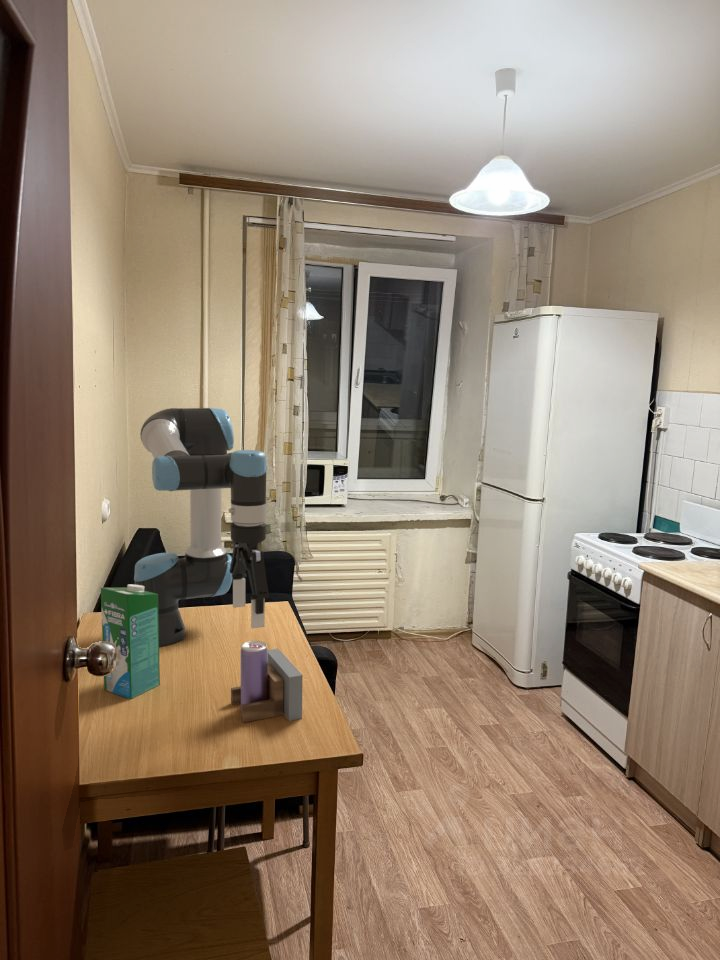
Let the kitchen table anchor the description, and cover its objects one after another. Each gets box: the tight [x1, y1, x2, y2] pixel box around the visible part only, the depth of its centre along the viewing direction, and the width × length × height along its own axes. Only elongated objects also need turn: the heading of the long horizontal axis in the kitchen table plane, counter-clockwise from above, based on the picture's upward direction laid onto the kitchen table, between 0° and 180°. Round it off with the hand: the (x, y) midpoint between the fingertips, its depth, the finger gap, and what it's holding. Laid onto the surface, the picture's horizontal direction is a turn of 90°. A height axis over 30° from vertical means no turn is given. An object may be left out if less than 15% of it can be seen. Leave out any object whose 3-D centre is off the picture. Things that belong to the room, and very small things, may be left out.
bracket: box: [230, 663, 284, 723], centre depth 153 cm, size 10×9×8 cm
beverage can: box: [240, 640, 269, 710], centre depth 152 cm, size 6×6×15 cm
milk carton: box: [100, 584, 161, 700], centre depth 161 cm, size 9×9×25 cm
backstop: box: [268, 648, 303, 722], centre depth 156 cm, size 16×3×10 cm, turn 26°
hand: (248, 616), depth 151 cm, fingers open, 13 cm apart
